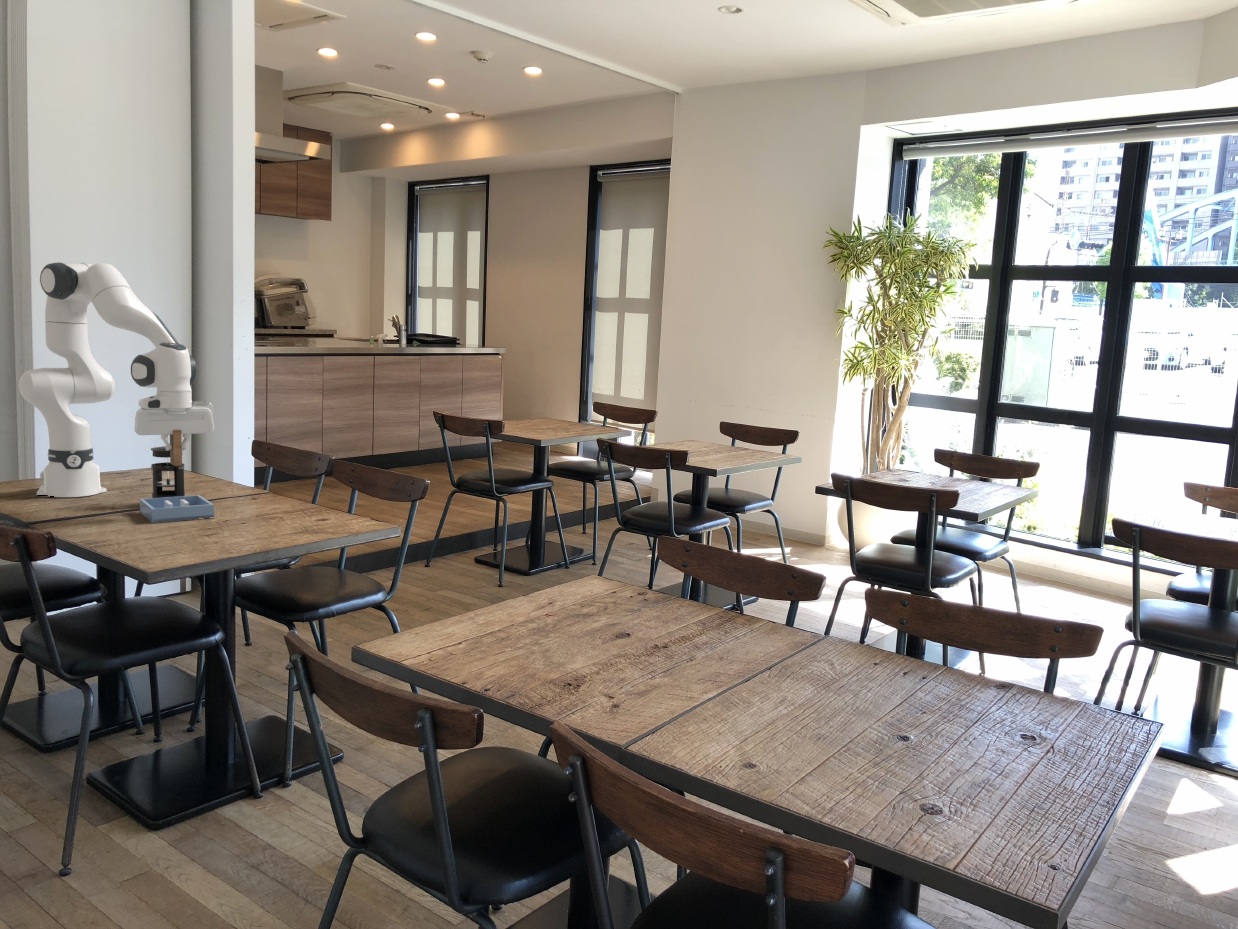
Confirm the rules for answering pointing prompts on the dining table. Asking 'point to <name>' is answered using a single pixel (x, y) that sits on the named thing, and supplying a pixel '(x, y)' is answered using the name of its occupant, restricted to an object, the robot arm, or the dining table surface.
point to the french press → (157, 476)
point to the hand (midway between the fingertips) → (175, 450)
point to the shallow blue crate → (176, 508)
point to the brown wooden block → (176, 448)
